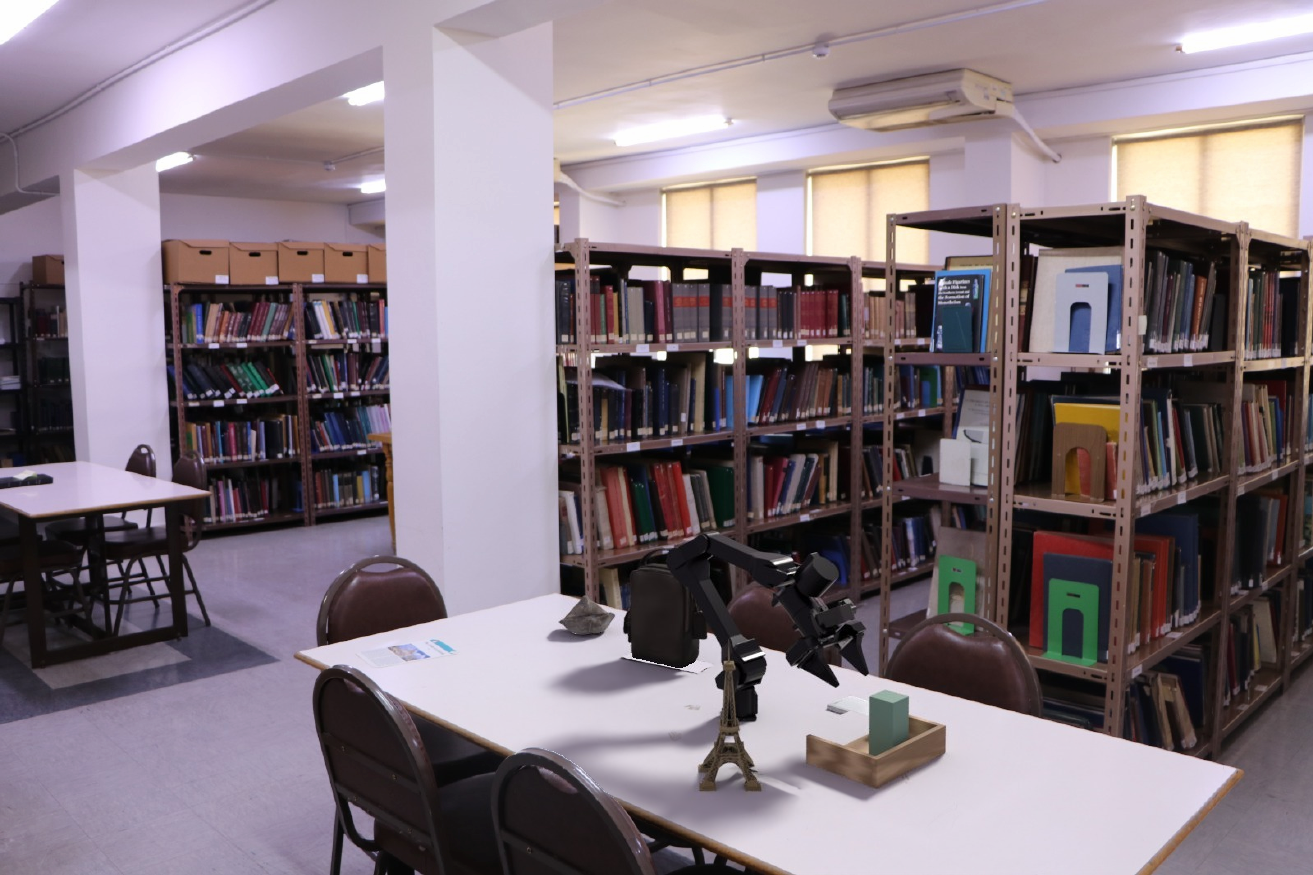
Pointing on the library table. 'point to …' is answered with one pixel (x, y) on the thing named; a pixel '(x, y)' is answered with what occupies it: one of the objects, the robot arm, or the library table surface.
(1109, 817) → the library table surface
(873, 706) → the green block
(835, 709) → the white flat slab
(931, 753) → the oak crate
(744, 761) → the eiffel tower
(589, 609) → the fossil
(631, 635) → the shoulder bag
